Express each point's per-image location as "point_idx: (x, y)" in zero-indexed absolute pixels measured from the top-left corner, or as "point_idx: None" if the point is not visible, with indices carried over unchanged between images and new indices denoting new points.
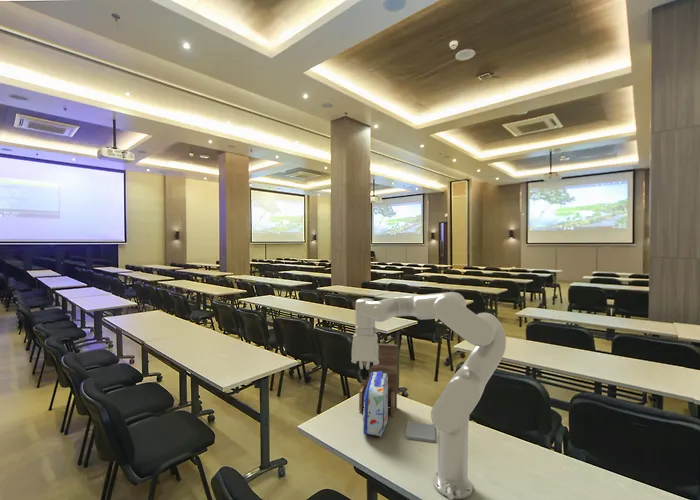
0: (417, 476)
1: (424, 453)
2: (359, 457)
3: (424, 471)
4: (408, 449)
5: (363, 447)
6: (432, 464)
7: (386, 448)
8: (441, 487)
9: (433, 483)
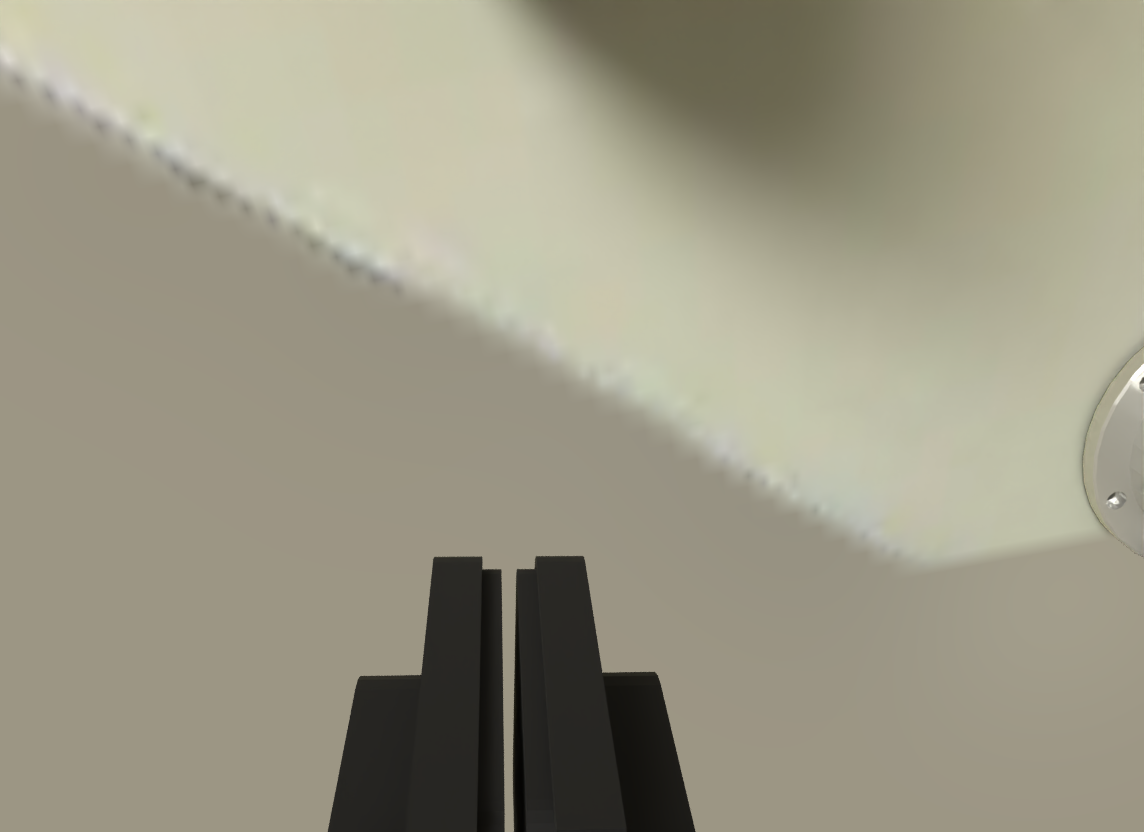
0: (974, 390)
1: (1106, 45)
2: (458, 253)
3: (1044, 318)
4: (951, 6)
5: (465, 74)
6: (1139, 208)
7: (716, 38)
8: (1135, 516)
9: (1084, 459)
